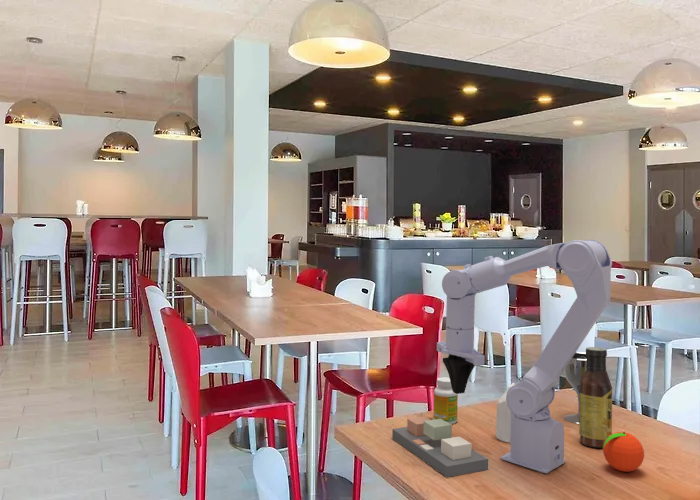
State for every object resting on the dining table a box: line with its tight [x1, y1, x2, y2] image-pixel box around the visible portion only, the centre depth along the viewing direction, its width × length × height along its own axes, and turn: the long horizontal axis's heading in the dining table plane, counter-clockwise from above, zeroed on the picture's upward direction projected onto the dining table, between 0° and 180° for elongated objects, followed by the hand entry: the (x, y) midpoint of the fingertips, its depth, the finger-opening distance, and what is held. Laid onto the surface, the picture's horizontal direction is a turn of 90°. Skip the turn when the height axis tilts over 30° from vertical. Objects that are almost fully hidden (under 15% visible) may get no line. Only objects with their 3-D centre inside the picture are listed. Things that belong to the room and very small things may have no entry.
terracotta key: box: [406, 415, 430, 437], centre depth 122 cm, size 4×4×2 cm
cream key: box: [441, 436, 472, 460], centre depth 111 cm, size 4×4×2 cm
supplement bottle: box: [433, 376, 459, 425], centre depth 136 cm, size 5×5×10 cm
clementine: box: [602, 431, 645, 473], centre depth 109 cm, size 8×7×7 cm
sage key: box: [423, 419, 453, 440], centre depth 116 cm, size 4×4×2 cm
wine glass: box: [563, 351, 587, 425], centre depth 138 cm, size 8×8×15 cm
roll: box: [495, 382, 516, 444], centre depth 125 cm, size 6×12×6 cm
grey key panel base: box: [391, 426, 489, 478], centre depth 117 cm, size 21×9×2 cm, turn 23°
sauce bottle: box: [578, 346, 613, 449], centre depth 122 cm, size 7×6×20 cm
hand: (458, 392), depth 122 cm, fingers closed
